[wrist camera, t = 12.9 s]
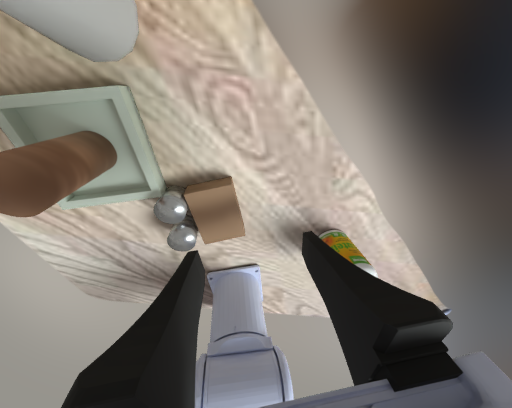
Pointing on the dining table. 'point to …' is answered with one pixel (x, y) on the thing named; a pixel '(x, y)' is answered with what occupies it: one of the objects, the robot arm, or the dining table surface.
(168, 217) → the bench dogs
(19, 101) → the tray
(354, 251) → the supplement bottle
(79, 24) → the salt shaker
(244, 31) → the dining table surface
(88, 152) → the dowel
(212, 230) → the wooden block
